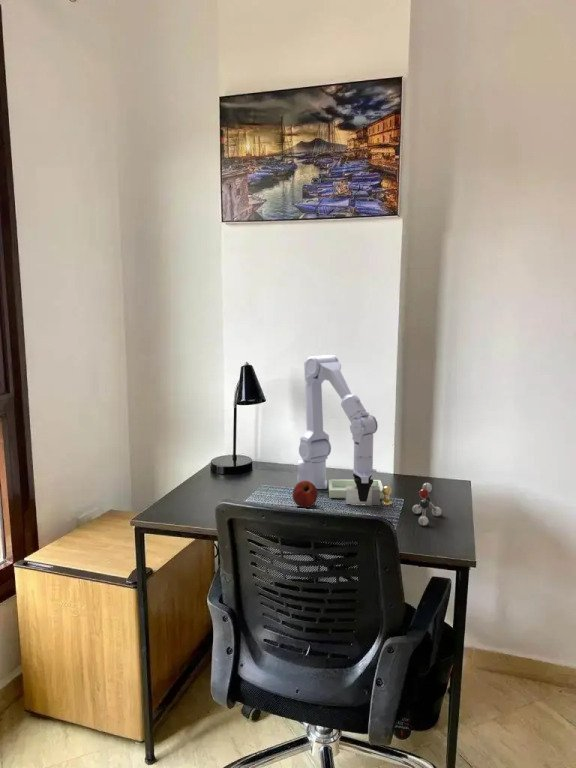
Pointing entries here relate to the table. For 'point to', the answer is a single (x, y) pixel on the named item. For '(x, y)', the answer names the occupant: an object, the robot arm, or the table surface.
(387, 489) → the door knob
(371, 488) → the strut
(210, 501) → the table surface
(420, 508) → the molecular model
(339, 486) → the tray
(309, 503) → the apple
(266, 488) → the table surface
